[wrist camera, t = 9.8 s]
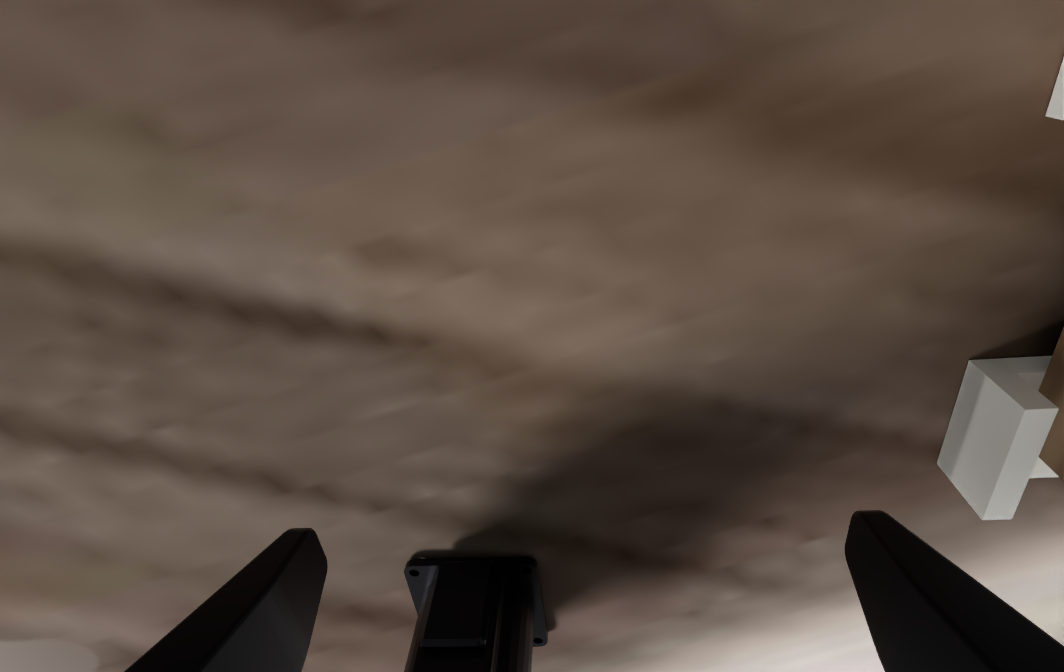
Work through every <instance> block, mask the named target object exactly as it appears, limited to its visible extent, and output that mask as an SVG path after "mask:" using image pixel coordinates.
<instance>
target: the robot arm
mask: <svg viewBox="0 0 1064 672" xmlns="http://www.w3.org/2000/svg"><path fill="white" fill-rule="evenodd" d="M845 557H846V561H847V564H848V567H849V570H850V573H851V576H852V579H853V582H854V585H855V588H856V591H857V594H858V597H859V600H860V603H861V606H862V609H863V612H864V615H865V618H866V621H867V624H868V627H869V630H870V633H871V636H872V639H873V642H874V645H875V648H876V650H877V653H878V656H879V658H880V661H881V663H882V666H883V668H884V670H885V672H1064V646H1063V645H1062V644H1060V643H1059V642H1058V641H1056V640H1055V639H1054V638H1052V637H1051V636H1050V635H1048V634H1047V633H1046V632H1044V631H1043V630H1042V629H1040V628H1039V627H1038V626H1036V625H1035V624H1034V623H1032V622H1031V621H1030V620H1028V619H1027V618H1026V617H1024V616H1023V615H1022V614H1020V613H1019V612H1018V611H1016V610H1015V609H1014V608H1012V607H1011V606H1010V605H1008V604H1007V603H1006V602H1004V601H1003V600H1002V599H1000V598H999V597H998V596H996V595H995V594H994V593H992V592H991V591H990V590H988V589H987V588H986V587H984V586H983V585H982V584H980V583H979V582H978V581H976V580H975V579H974V578H972V577H971V576H970V575H968V574H967V573H966V572H964V571H963V570H962V569H960V568H959V567H958V566H956V565H955V564H954V563H952V562H951V561H950V560H948V559H947V558H946V557H944V556H943V555H942V554H940V553H939V552H938V551H936V550H935V549H934V548H932V547H931V546H930V545H928V544H927V543H926V542H924V541H923V540H922V539H920V538H919V537H918V536H916V535H915V534H914V533H912V532H911V531H910V530H908V529H907V528H906V527H904V526H903V525H902V524H900V523H899V522H898V521H896V520H895V519H894V518H892V517H891V516H890V515H888V514H887V513H885V512H883V511H880V510H867V511H856V512H854V514H853V515H852V517H851V521H850V525H849V530H848V534H847V538H846V543H845ZM326 574H327V559H326V556H325V554H324V551H323V549H322V546H321V544H320V542H319V539H318V537H317V534H316V532H315V531H314V530H313V529H312V528H293V529H289V530H287V531H286V532H284V533H283V534H282V535H281V536H280V537H279V538H277V539H276V540H275V541H274V542H273V543H272V544H270V545H269V546H268V547H267V548H266V549H265V550H264V551H262V552H261V553H260V554H259V555H258V556H257V557H256V558H254V559H253V560H252V561H251V562H250V563H249V564H247V565H246V566H245V567H244V568H243V569H242V570H241V571H239V572H238V573H237V574H236V575H235V576H234V577H232V578H231V579H230V580H229V581H228V582H227V583H226V584H224V585H223V586H222V587H221V588H220V589H219V590H218V591H216V592H215V593H214V594H213V595H212V596H211V597H209V598H208V599H207V600H206V601H205V602H204V603H203V604H201V605H200V606H199V607H198V608H197V609H196V610H194V611H193V612H192V613H191V614H190V615H189V616H188V617H186V618H185V619H184V620H183V621H182V622H181V623H180V624H178V625H177V626H176V627H175V628H174V629H173V630H171V631H170V632H169V633H168V634H167V635H166V636H165V637H163V638H162V639H161V640H160V641H159V642H158V643H157V644H155V645H154V646H153V647H152V648H151V649H150V650H148V651H147V652H146V653H145V654H144V655H143V656H142V657H140V658H139V659H138V660H137V661H136V662H135V663H133V664H132V665H131V666H130V667H129V668H128V669H127V670H125V671H124V672H301V671H302V668H303V665H304V662H305V659H306V655H307V651H308V648H309V644H310V640H311V636H312V631H313V627H314V623H315V619H316V615H317V611H318V607H319V603H320V599H321V595H322V590H323V586H324V582H325V578H326ZM404 574H405V577H406V580H407V583H408V586H409V589H410V592H411V595H412V599H413V602H414V605H415V608H416V611H417V614H418V618H417V622H416V626H415V630H414V634H413V638H412V642H411V646H410V650H409V654H408V658H407V662H406V666H405V670H404V672H531V665H532V649H533V647H539V646H544V645H546V644H547V641H548V632H547V625H546V618H545V612H544V605H543V599H542V592H541V585H540V579H539V572H538V566H537V562H536V560H535V559H533V558H531V557H489V558H448V559H413V560H409V561H408V562H407V563H406V566H405V570H404Z"/></svg>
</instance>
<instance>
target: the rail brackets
mask: <svg viewBox="0 0 1064 672" xmlns="http://www.w3.org/2000/svg"><path fill="white" fill-rule="evenodd" d="M1046 116H1047V117H1051V118H1056V119H1060V120H1064V58H1063V61H1062V65H1061V68H1060V71H1059V74H1058V77H1057V81H1056V84H1055V87H1054V90H1053V93H1052V97H1051V100H1050V103H1049V106H1048V109H1047V113H1046ZM1051 358H1052V356H1036V357H1018V358H1000V359H982V360H969V362H968V365H967V368H966V371H965V374H964V377H963V381H962V384H961V387H960V390H959V393H958V397H957V400H956V403H955V406H954V409H953V413H952V416H951V419H950V422H949V425H948V429H947V432H946V435H945V438H944V441H943V445H942V448H941V451H940V454H939V457H938V460H937V465H938V466H939V467H940V468H941V470H942V471H943V472H944V473H945V475H946V476H947V477H948V478H949V480H950V481H951V482H952V483H953V485H954V486H955V487H956V488H957V489H958V491H959V492H960V493H961V494H962V496H963V497H964V498H965V499H966V501H967V502H968V503H969V504H970V506H971V507H972V508H973V509H974V511H975V512H976V513H977V514H978V516H979V517H980V518H981V519H982V520H1005V519H1012V518H1013V515H1014V513H1015V511H1016V508H1017V506H1018V504H1019V501H1020V499H1021V497H1022V494H1023V492H1024V490H1025V487H1026V485H1027V482H1028V480H1029V478H1048V477H1059V476H1058V475H1057V474H1056V473H1055V472H1054V471H1053V470H1051V469H1050V468H1049V467H1048V466H1047V465H1046V464H1045V463H1044V462H1043V461H1042V460H1041V459H1040V458H1039V454H1040V452H1041V449H1042V447H1043V445H1044V442H1045V440H1046V438H1047V435H1048V433H1049V431H1050V428H1051V426H1052V424H1053V421H1054V419H1055V416H1056V414H1057V412H1058V409H1059V408H1058V407H1057V406H1056V405H1055V404H1053V403H1052V402H1051V401H1050V400H1048V399H1047V398H1046V397H1045V396H1044V395H1042V394H1041V393H1040V392H1039V388H1040V386H1041V383H1042V381H1043V378H1044V375H1045V373H1046V370H1047V368H1048V365H1049V363H1050V360H1051Z"/></svg>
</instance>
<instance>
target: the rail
mask: <svg viewBox="0 0 1064 672" xmlns="http://www.w3.org/2000/svg"><path fill="white" fill-rule="evenodd" d="M1039 392H1040V393H1041V394H1042V395H1044V396H1045V397H1046V398H1047V399H1048V400H1050V401H1051V402H1052V403H1053V404H1055V405H1056V406H1057V407H1058V408H1059V409H1058V412H1057V414H1056V416H1055V419H1054V421H1053V424H1052V426H1051V428H1050V431H1049V433H1048V435H1047V438H1046V440H1045V442H1044V445H1043V447H1042V449H1041V452H1040V454H1039V458H1040V459H1041V460H1042V461H1043V462H1044V463H1045V464H1046V465H1047V466H1048V467H1049V468H1050V469H1051V470H1053V471H1054V472H1055V473H1056V474H1057V475H1058V476H1059V477H1060V478H1061V479H1062V480H1063V481H1064V328H1063V330H1062V333H1061V335H1060V338H1059V340H1058V343H1057V345H1056V348H1055V350H1054V353H1053V355H1052V358H1051V360H1050V363H1049V365H1048V368H1047V370H1046V373H1045V375H1044V378H1043V381H1042V383H1041V386H1040V388H1039Z"/></svg>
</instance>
